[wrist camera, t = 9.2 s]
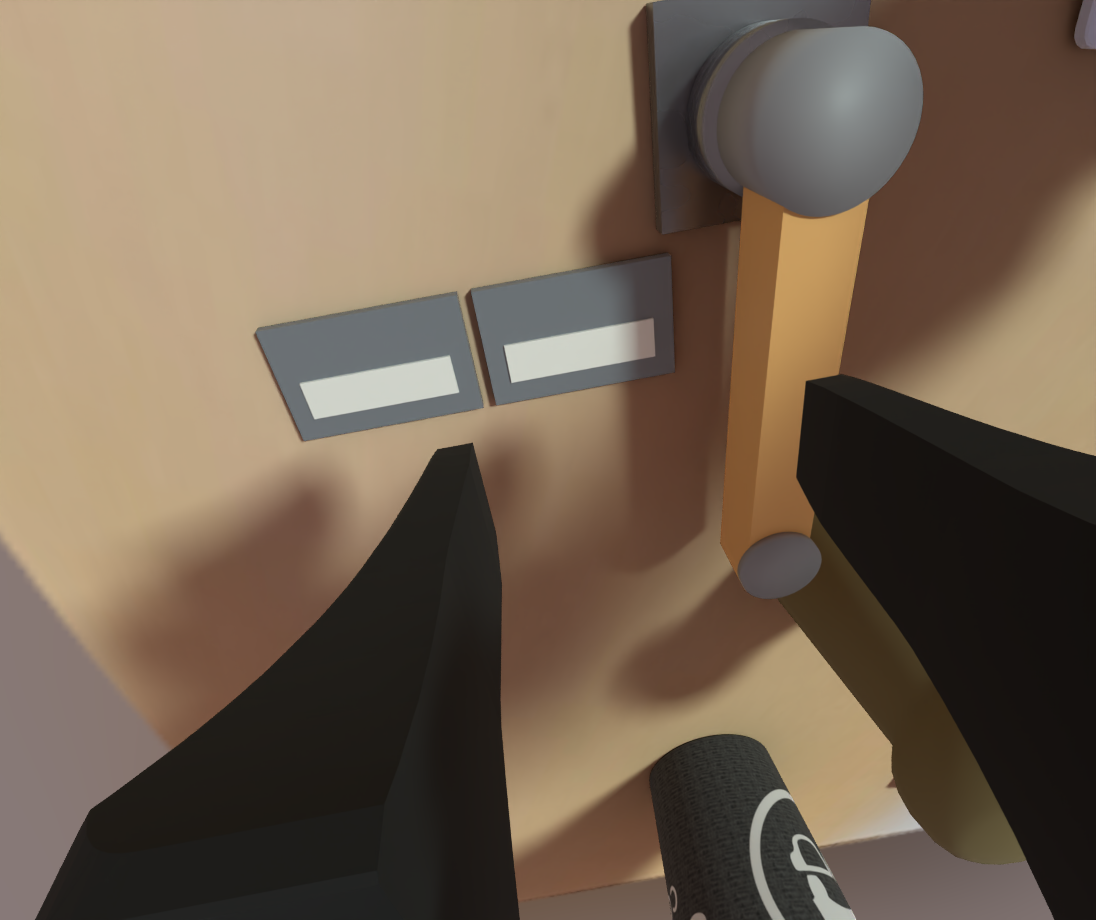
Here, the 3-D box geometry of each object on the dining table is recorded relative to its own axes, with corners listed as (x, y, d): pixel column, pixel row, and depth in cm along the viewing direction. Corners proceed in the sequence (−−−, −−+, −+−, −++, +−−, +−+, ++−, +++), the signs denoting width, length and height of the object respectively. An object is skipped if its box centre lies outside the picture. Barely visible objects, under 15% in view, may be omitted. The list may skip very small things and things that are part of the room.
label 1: (456, 291, 17) (456, 296, 17) (483, 403, 19) (483, 409, 19) (258, 327, 17) (254, 333, 17) (305, 436, 19) (303, 442, 19)
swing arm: (719, 39, 13) (769, 38, 11) (870, 19, 13) (948, 14, 11) (699, 550, 21) (725, 606, 19) (792, 536, 21) (828, 589, 19)
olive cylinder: (837, 614, 27) (1027, 902, 18) (728, 579, 25) (879, 884, 16) (939, 513, 24) (1225, 793, 15) (825, 464, 22) (1075, 754, 13)
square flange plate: (860, -35, 14) (913, -46, 12) (835, 196, 17) (875, 212, 15) (646, 4, 14) (670, -2, 12) (656, 229, 17) (677, 248, 15)
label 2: (668, 252, 17) (671, 256, 17) (672, 368, 19) (675, 373, 19) (470, 288, 17) (470, 293, 17) (496, 400, 19) (496, 406, 19)
